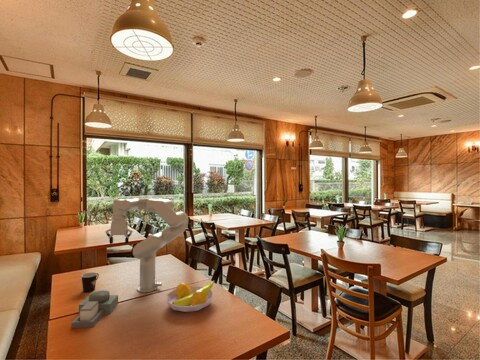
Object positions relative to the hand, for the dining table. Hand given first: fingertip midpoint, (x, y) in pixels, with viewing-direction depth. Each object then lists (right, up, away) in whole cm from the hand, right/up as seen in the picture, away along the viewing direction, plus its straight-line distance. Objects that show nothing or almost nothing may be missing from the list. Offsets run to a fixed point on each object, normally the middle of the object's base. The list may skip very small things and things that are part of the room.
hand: (119, 243), depth 174 cm
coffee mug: (-15, -28, -6) cm, 33 cm away
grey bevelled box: (+4, -28, -41) cm, 50 cm away
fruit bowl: (+53, -29, -25) cm, 65 cm away
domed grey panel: (+3, -29, -36) cm, 46 cm away
